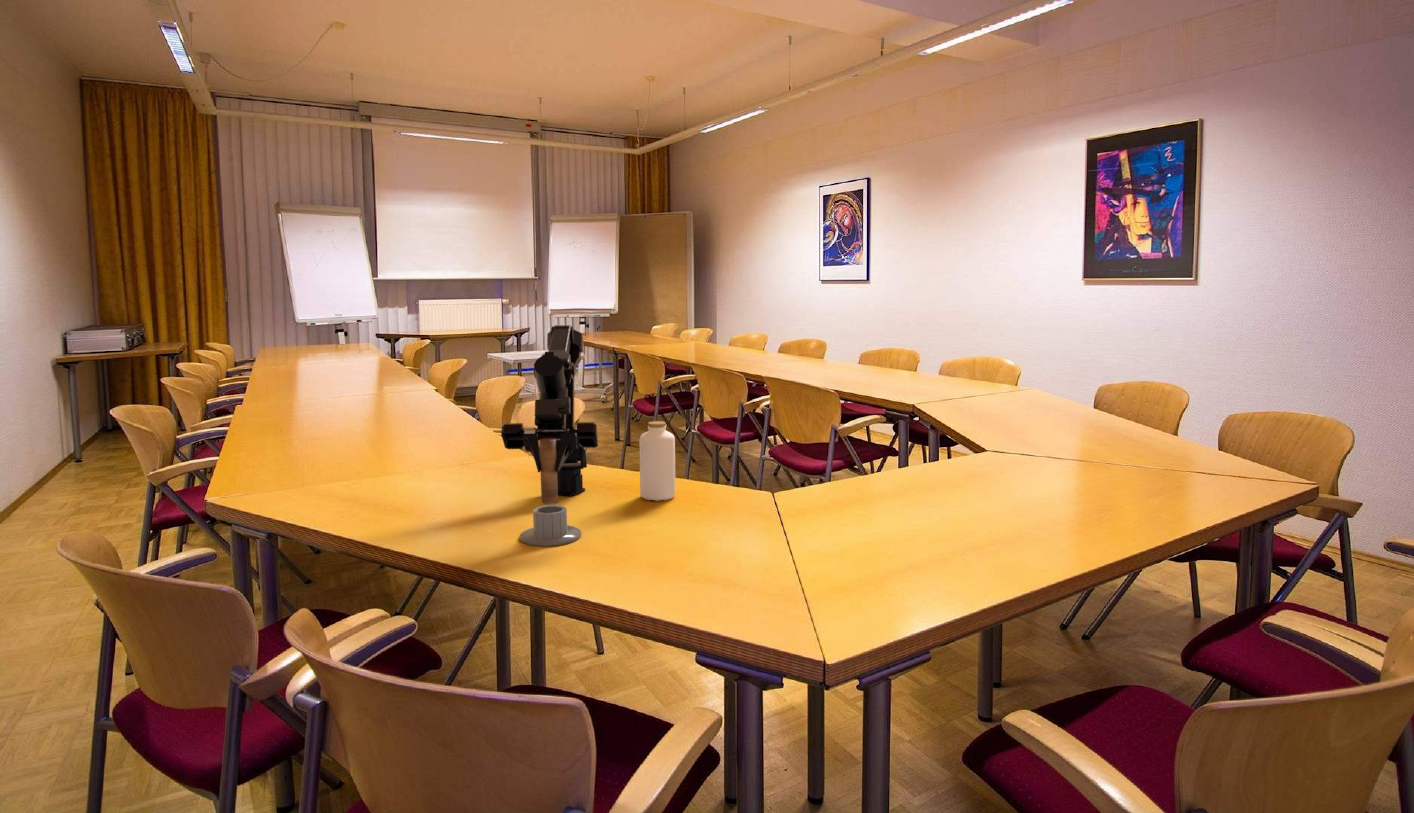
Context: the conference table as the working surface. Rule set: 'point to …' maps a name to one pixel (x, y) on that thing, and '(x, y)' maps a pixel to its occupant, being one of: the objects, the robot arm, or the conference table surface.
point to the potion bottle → (657, 463)
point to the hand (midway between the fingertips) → (547, 471)
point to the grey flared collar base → (550, 528)
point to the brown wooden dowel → (548, 471)
